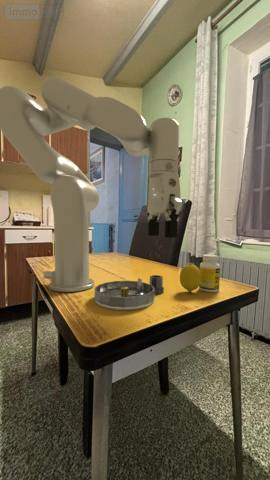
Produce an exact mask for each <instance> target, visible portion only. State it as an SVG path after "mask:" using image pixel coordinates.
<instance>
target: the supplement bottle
mask: <svg viewBox="0 0 270 480" xmlns="http://www.w3.org/2000/svg"><path fill="white" fill-rule="evenodd" d="M218 260H219V256H218V255H215V254H203V255H202V262H200V264H199V270H200V274H201V282H200V285H199V287H198V289H199V290H200V291H201V292H202V291H203V292H206V293H217V292H219V291H220V284H221V283H220V282H221V281H220V280H221V277H220V276H221V266H220V264H219V263H218Z"/></svg>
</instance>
